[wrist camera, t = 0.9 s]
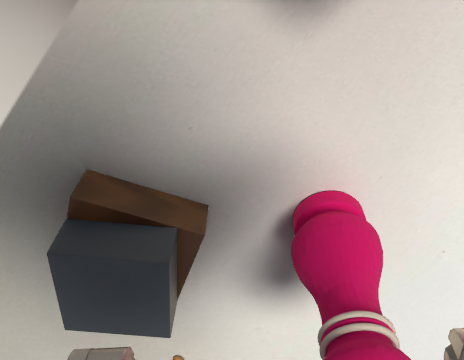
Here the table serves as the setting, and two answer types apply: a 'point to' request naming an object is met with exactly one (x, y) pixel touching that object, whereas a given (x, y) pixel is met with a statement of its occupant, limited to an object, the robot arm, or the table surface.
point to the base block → (141, 212)
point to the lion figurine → (175, 358)
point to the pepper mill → (343, 277)
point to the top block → (115, 277)
